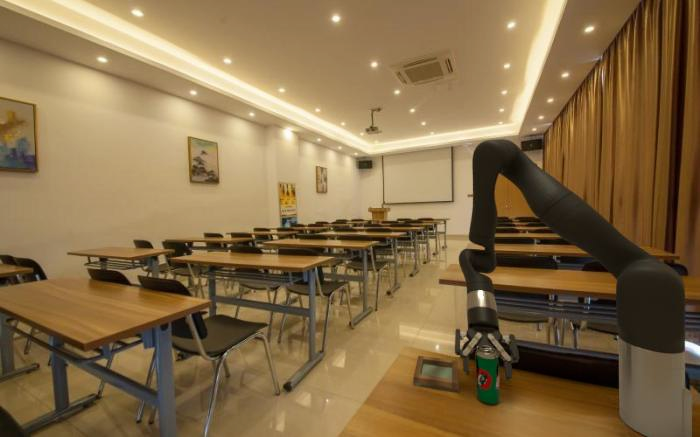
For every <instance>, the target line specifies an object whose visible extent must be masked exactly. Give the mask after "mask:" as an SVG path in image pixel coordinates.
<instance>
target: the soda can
mask: <svg viewBox="0 0 700 437" xmlns="http://www.w3.org/2000/svg"><path fill="white" fill-rule="evenodd" d="M474 353H475V354H474V361H475V362H474V363H475V364H474V365H475V389H476V390H475V392H476V397H477V399H478V400H480V402H481V403H484V404H486V405H492V406H493V405H497V404H498V403H499V402H500V400H501V395H500V392H501V391H500V361H499V358H500V357H499V355H498V354H497V351H496V349H495V348H493V347H490V346H485V345H481V346H478V347H477V349H475V350H474Z"/></svg>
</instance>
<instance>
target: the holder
mask: <svg viewBox="0 0 700 437" xmlns="http://www.w3.org/2000/svg"><path fill="white" fill-rule="evenodd" d="M416 360H417V361H416V364H415V369H414V374H413V386H416V387H422V388H426V389H427V388H428V389H435V390H441V391H446V392H451V393H452V392H453V393H458V394H459V393H460V390H459V389H460V385H459V361H458V360H456V359H447V358H439V357H432V356H423V355H417V359H416Z"/></svg>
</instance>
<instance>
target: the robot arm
mask: <svg viewBox="0 0 700 437" xmlns="http://www.w3.org/2000/svg"><path fill="white" fill-rule="evenodd" d="M471 161H472V162H471V163H472V164H471V166H472V169H471V170H472V208H471V219H470V223H469V224H470V225H469V232H468V241H469V242H470V243H472V244H473V245H477V246H480V247H483V248H484V249H476V248H464V249H462V250H461V251H460V252H459V255H458V262H459V267H460V269H461V272H462V274H463V276H464V280H465V285H466V286H465V287H466V318H467V320H466V321H467V329H466V330H465V331H464V330H461V329H460V328H456V329H455V333H454V335H455V337H454V354H455V355H456V356H459V357H460V358H462V370H463V372H464V373H465V374H466V376H470V355H471V354H472V353H473V352H475V351H476V350H477V347H478V346H481V345H485V346H490V347H493V348H495V349H496V351H497V354H498V355H499V358H500V359H501V360H502V361H503V370H504V376H505V377H504V378H505V381H507V382H510V381H511V379H512V378H513V376H514V375H513V374H514V373H513V368H512V367H513V366H512V364H514V363H518V362H519V360H520V354H519V350H518V345H517V340H516V337H515V336H516V335H515V334H513V333H510V334H509V335H507V334H506V335H505V334H504V335H503V334H502V333H501V330H500V322H499V316H498V315H499V313H498V309H497V308H498V307H497V302H496V299H495V290H494V284H493V280H492V279H491V277H490V276H488V274H492V273H493V272H494V271H495V270H496V269H497V257H496V251H495V249H496V248H495V236H496V231H497V225H498V208H497V203H496V194H495V193H496V192H495V191H496V184H497V180H498V177H499V174H500V176H502V177H504V178H505V179H507V180H509V182H511V183H512V184H513V185H514V186H515V187H517V189H518V190H519V191H520V193H521V194H522V196H523V198H524V199H525V202H526V203H527V205H528V207H529V209H530V210H531V212H532V213H533V214H534V215H535V216H536V218H537V219H538V220H540V221H541V222H542V223H543V224H544V225H545V226H546V227H548V228H549V229H550V230H551V231H552V232H553V233H555V234H556V235H557V236H558V237H560V238H561V239H563V240H565V241H566V242H568V243H569V244H571V245H573V246H575V247H576V248H579V249H580V250H581V251H583V252H585V253H586V254H588V255H590V256H591V257H592V258H594V259H595V260H596V261H597V262H598V263H600V264H601V266H603V267H604V268H605V269H606V270H607V271H608V272H609V274H611V276H612V277H613V278H615V279H616V284H615V304H616V305H615V306H616V307H615V308H616V309H615V310H616V324H617V329H618V391H619V392H618V393H619V404H618V408H619V410H618V411H619V412H618V413H619V418H620V420H621V421H622V422H623V423H624V424H626V426H628V427H629V428H631V429H632V430H633V431H635V432H636V433H639V434H641V435H643V436H645V437H693V429H692V428H693V426H692V424H693V407H692V406H693V396H692V395H693V394H692V393H693V392H692V391H690V389H688V388H687V387H686V290H685V287H686V286H685V282H684V280H683V278H682V276H681V275H680V274H679V272H677V271H676V270H675V269H674V268H673V267H671V266H670V265H668V264H666V263H665V262H663V261H662V260H661V259H658V258H657V257H655V256H654V255H652V254H651V253H649V252H647V251H646V250H644V249H643V248H641V247H640V246H639V245H637V244H636V243H634V242H633V241H631V240H630V239H628V238H627V237H626V236H625V235H623V234H622V233H621V232H620V231H619V230H618V229H617V228H616V227H615V226H614V225H613V224H612V223H611V222H609V221H608V219H606V218H605V217H604V216H602V214H600V212H598V211H597V210H596V209H595V208H594V207H592V206H591V205H590V204H589V203H588V202H586V200H584V199H582V198H581V197H580V196H579V195H578V194H576V193H575V192H574V191H572V190H571V189H569V188H568V187H567V186H565V185H564V184H562V183H561V182H560V181H559V180H558V179H556V178H555V177H554V176H552V175H551V174H549V173H548V172H547V171H545V170H544V169H543V168H541V167H540V166H539V165H537V163H535V162H534V161H533V160H532V159H531V158H530V157H529V156H528V154H526V153H525V151H523V150H522V149H521V147H519V146H518V145H517V144H516V143H515V142H513V141H512V140H510V139H504V138H501V139H500V138H497V139H487V140H483V141H482V142H480V143H479V144H478V145H477V146H476V147H475V148H474V150H473V153H472V160H471ZM486 274H487V275H486ZM464 338H467V339H468V341H469V343H468V344H467V345H466V347H465V348H464V349H461V341H464ZM503 341H504V342H505V344H506V345H508V346H509V350H510V355H509V354H508V353H507V352H506V350H505V348H504V347H503V346H502V345H501V343H502V342H503Z"/></svg>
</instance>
